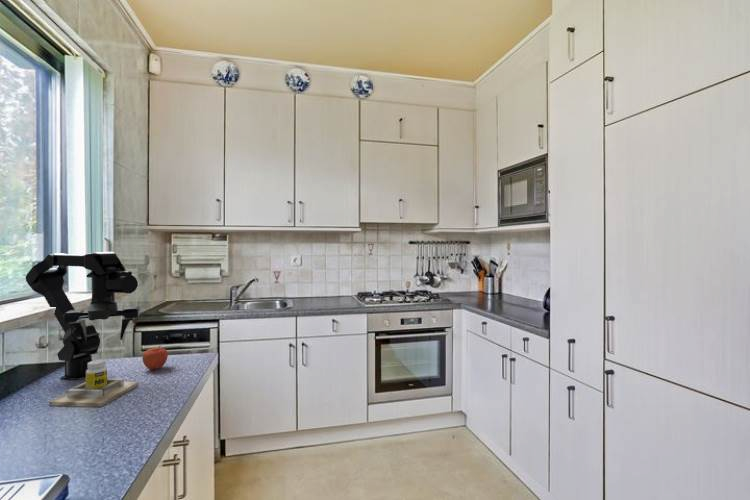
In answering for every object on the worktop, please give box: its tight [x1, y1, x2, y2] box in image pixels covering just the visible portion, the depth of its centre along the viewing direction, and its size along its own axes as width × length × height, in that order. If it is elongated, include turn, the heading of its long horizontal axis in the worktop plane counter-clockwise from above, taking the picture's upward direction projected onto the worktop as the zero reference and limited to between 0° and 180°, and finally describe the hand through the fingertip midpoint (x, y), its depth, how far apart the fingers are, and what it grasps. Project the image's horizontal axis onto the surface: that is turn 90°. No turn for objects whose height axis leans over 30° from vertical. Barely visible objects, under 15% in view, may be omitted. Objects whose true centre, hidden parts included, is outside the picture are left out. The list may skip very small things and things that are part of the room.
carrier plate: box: [48, 377, 139, 408], centre depth 101 cm, size 14×14×3 cm
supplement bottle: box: [85, 359, 108, 389], centre depth 101 cm, size 5×5×8 cm
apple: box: [142, 345, 169, 371], centre depth 121 cm, size 7×7×8 cm
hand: (103, 341), depth 112 cm, fingers open, 9 cm apart
